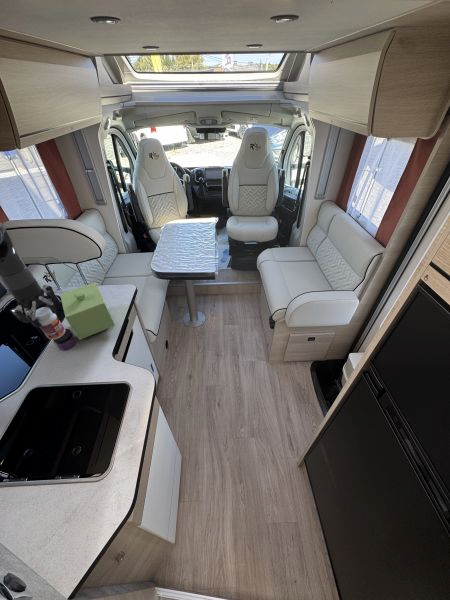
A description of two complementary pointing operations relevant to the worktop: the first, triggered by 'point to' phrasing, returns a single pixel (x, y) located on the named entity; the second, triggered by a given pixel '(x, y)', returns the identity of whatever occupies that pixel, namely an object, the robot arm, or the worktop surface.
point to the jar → (67, 343)
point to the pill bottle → (49, 323)
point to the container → (86, 310)
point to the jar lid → (64, 337)
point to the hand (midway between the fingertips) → (46, 319)
